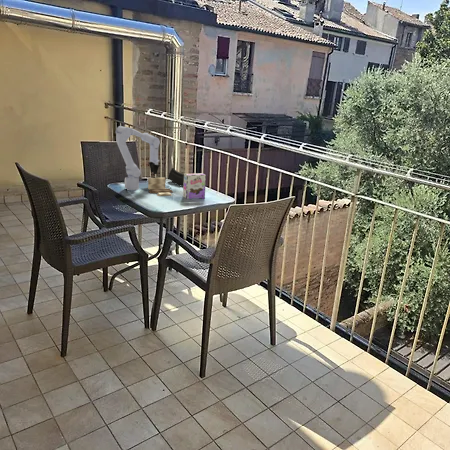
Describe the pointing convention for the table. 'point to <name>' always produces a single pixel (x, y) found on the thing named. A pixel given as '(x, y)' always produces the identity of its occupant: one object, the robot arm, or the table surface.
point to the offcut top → (164, 194)
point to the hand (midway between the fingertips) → (153, 173)
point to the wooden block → (156, 183)
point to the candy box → (194, 185)
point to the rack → (160, 191)
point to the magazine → (176, 177)
